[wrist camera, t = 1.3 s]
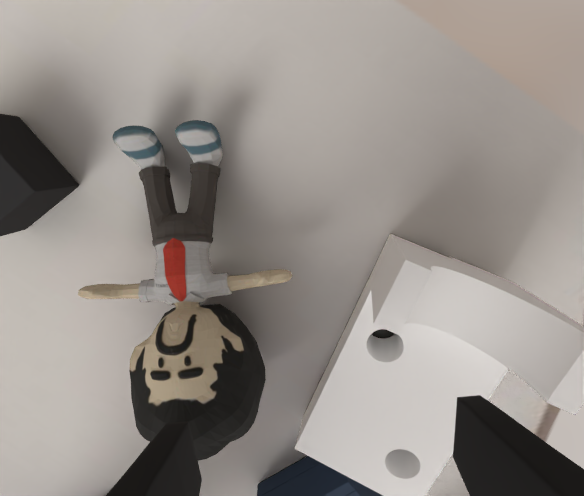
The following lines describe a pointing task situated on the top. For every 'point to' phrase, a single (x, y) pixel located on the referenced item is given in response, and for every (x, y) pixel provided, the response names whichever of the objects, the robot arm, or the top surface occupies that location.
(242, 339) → the figurine
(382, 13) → the top surface
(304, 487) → the blue square tray
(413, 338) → the bracket
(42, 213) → the black block
